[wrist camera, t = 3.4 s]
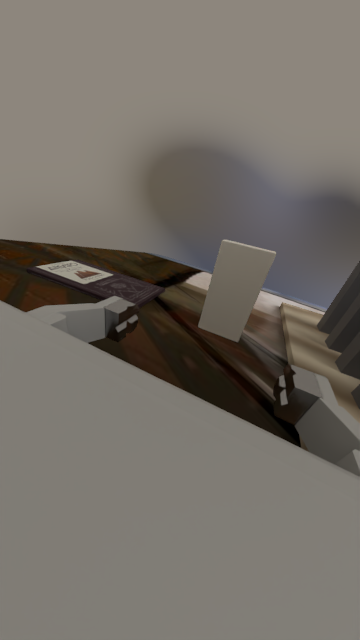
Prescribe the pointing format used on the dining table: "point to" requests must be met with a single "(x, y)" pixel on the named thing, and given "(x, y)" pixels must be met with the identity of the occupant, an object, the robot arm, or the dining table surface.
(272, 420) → the dining table surface
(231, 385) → the dining table surface
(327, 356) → the birch board
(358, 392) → the domino
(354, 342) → the domino
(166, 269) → the dining table surface
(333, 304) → the domino
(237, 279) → the domino
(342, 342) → the domino
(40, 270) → the chocolate bar
